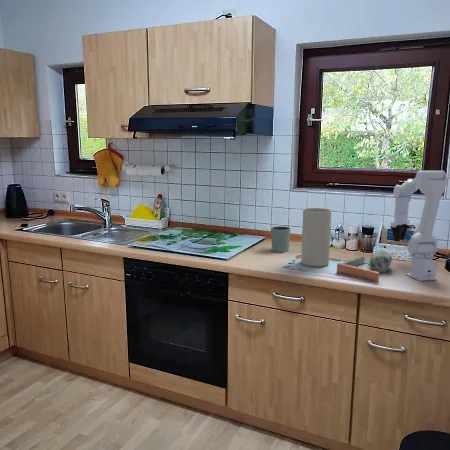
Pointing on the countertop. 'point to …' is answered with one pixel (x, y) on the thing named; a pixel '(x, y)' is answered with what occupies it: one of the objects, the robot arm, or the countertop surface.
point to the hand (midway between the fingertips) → (398, 240)
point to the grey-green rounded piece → (380, 261)
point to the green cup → (280, 238)
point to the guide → (357, 270)
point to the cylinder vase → (316, 237)
